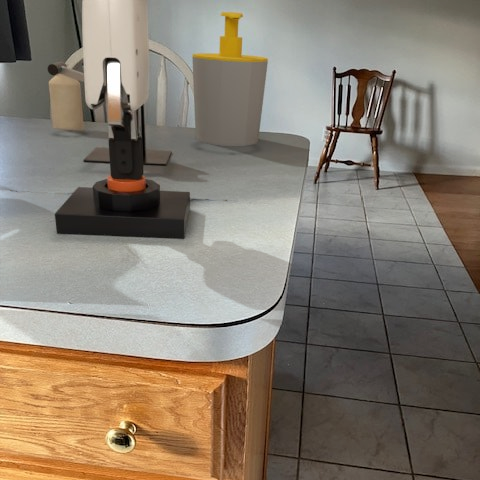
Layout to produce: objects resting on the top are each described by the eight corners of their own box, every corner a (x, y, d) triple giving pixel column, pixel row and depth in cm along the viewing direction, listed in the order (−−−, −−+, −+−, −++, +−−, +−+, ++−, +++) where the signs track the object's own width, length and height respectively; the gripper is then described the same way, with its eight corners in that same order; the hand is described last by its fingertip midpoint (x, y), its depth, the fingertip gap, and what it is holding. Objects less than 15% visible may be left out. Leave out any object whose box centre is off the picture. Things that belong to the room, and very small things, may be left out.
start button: (104, 197, 57) (103, 181, 56) (111, 187, 60) (110, 171, 59) (143, 199, 57) (142, 183, 56) (148, 189, 60) (147, 173, 59)
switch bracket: (83, 168, 79) (76, 80, 73) (96, 154, 87) (90, 74, 81) (166, 172, 80) (164, 85, 74) (171, 158, 88) (170, 79, 82)
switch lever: (45, 76, 75) (48, 58, 74) (55, 73, 79) (58, 56, 78) (131, 107, 77) (135, 90, 76) (136, 102, 82) (140, 86, 80)
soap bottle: (196, 151, 93) (198, 9, 83) (187, 136, 104) (188, 10, 94) (269, 152, 96) (280, 15, 85) (253, 137, 107) (261, 14, 96)
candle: (49, 129, 103) (42, 72, 98) (76, 127, 106) (71, 72, 101) (61, 135, 99) (55, 75, 95) (89, 132, 103) (84, 75, 98)
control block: (56, 234, 55) (52, 196, 53) (79, 205, 64) (76, 171, 62) (184, 239, 56) (184, 201, 54) (189, 209, 65) (190, 176, 63)
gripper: (92, -23, 55) (105, 160, 64) (50, -37, 42) (74, 196, 51) (166, -19, 55) (169, 163, 64) (148, -32, 42) (155, 199, 51)
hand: (127, 177), depth 58 cm, fingers closed
